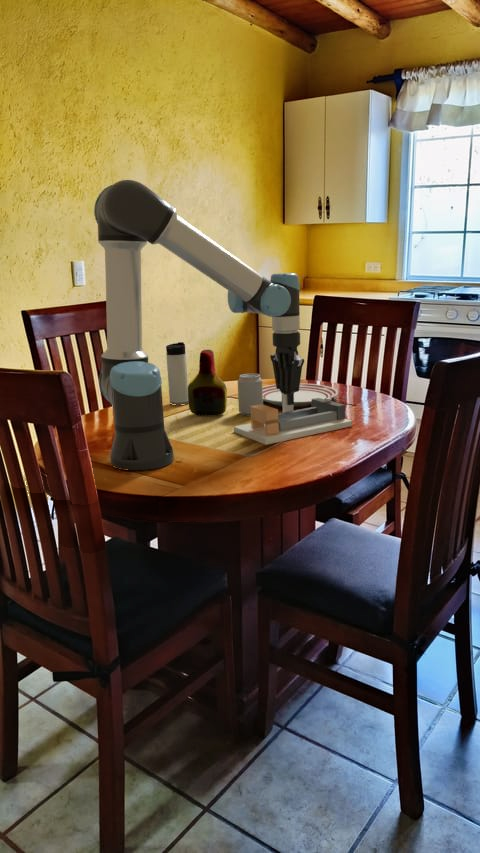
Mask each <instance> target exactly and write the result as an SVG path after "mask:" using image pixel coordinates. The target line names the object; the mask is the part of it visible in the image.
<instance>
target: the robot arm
mask: <svg viewBox="0 0 480 853" xmlns="http://www.w3.org/2000/svg"><path fill="white" fill-rule="evenodd" d="M176 210H177V209H176V207H174V206H173V205H172V204H170V203H169V202H168V201H167V200H165V199H164V198H162V197H161V196H160V195H159V194H158V193H155V191H153V190H152V189H150V188H149V187H147V186H146V185H145V184H143V183H141V182H139V181H137V180H132V179H122V180H119V181H115V183H113V184H110V185H109V186H107V187H106V188H103V190H102V191H101V192H100V193H99V194H98V196H97V197H96V200H95V203H94V211H93V212H94V213H93V214H94V217H95V218H94V219H95V220H96V224H97V238H98V239H97V242H98V244H99V245H100V246H101V247H102V248H103V249H104V261H105V263H104V264H105V265H104V268H105V269H104V270H105V272H104V273H105V301H106V302H105V303H106V307H105V308H106V309H105V310H106V340H107V341H106V343H107V344H106V345H107V346H106V347H107V348H106V349H105V351H104V352H102V353H101V356H100V357H101V371H100V374H99V378H98V379H99V380H98V384H99V389H100V392H101V394H102V396H103V397H104V399H105V400H106V401H107V402H109V403H110V405H112V409H113V410H112V411H113V421H114V438H113V443H112V446H111V451H110V454H109V455H110V456H109V458H110V465H111V464H112V465H113V466H115V467H117V468H121V469H128V470H143V471H150V470H149V469H151V470H155V468H156V469H159V468H163V467H166V466H168V465H170V464H171V463H173V462H174V461H175V457H174V456H175V455H174V449H173V446H172V443H171V442H170V438H169V436H168V434H167V431H166V430H165V428H166V427H165V421H164V419H165V418H164V405H163V404H164V403H163V402H164V401H163V393H162V392H163V391H162V389H163V388H162V384H163V381H162V376H161V372H160V369H159V367H158V366H157V365H156V364H154V363H151V362H149V354H148V353H147V352H146V351H145V350H144V349H143V330H142V328H143V325H142V322H143V320H142V313H143V312H142V257H141V251H142V249H143V248H144V247H145V246H146V245H147V244H148V243H149V244H151V245H157V244H159V245H160V246H162V247H163V248H164V249H166V250H168V251H169V252H170V253H172V254H174V255H175V256H176V257H177V258H180V259H181V260H182V261H184V262H186V263H187V264H188V265H190V266H191V267H192V268H194V269H196V270H198V271H199V272H200V273H202V274H203V275H204V276H206V277H208V278H209V279H211V280H212V281H214V282H215V283H217V284H218V285H219V286H221V287H223V288H224V289H226V290H227V304H228V307H229V310H230V311H231V313H234V314H240V313H241V314H244V313H252V314H257V315H262V316H267V317H270V318H271V330H272V331H273V333H272V346H273V347H275V352H274V353H273V354H270V357H269V358H270V362H271V364H272V368H273V369H272V370H273V374H274V381H275V384H276V388H277V389H279V390H280V392H281V393H282V406H281V407H282V413H284V412H289V411H294V407H293V405H294V393H295V392H298V391H299V386H300V383H301V378H302V370H303V366H304V363H305V359H304V358H300V356H299V351H298V347H299V346H301V332H300V331H299V330H301V329H300V328H301V326H300V324H301V322H300V311H301V310H300V291H301V290H300V279H299V275H298V274H297V273H294V272H283V273H281V272H279V273H272V274H271V276H270V280H269V279H268V278H267V277H265V276H263V275H262V274H260V273H259V272H258V271H256V270H255V269H254V268H253V267H251V266H249V265H248V264H246V263H245V262H243V261H242V260H241V259H239V258H238V256H235V255H234V254H232V253H231V252H230V251H228V250H227V249H225V248H224V247H223V246H221V245H220V244H218V243H217V242H216V241H215V240H213V239H211V238H210V237H208V236H207V235H206V234H204V233H203V232H201V231H200V230H199V229H197V228H196V227H195V226H193V225H192V224H190V223H189V222H188V221H186V220H185V219H183V218H182V217H181V216H179V215H178V214H177V211H176Z"/></svg>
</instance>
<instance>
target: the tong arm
mask: <svg viewBox="0 0 480 853" xmlns="http://www.w3.org/2000/svg"><path fill="white" fill-rule="evenodd" d="M293 410H294V409H293ZM313 414H318V408H317V407H312V406H310V407H305V408H302V409H301V408H300V409H296V410H294V411H289V412H284V413H283V412H280V413H279V412H278V421H283V420H288V419H293V418H298V417H303V416H308V415H313Z"/></svg>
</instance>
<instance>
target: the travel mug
mask: <svg viewBox="0 0 480 853" xmlns="http://www.w3.org/2000/svg"><path fill="white" fill-rule="evenodd" d="M165 350H166V355H165V356H166V367H167V380H168V381H167V384H168V396H169V398H168V399H169V404H170V403H172V404H176V405H181V404H187V403H188V404H189V402H188V385H189V382H188V371H187V368H188V367H187V356H186V354H187V353H186V344H185V342H181V341H179V342H177V343H176V342H175V343H171V344H170V343H169V344H168V345H166V346H165ZM188 404H187V405H188Z"/></svg>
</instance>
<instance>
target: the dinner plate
mask: <svg viewBox="0 0 480 853" xmlns="http://www.w3.org/2000/svg"><path fill="white" fill-rule="evenodd" d="M262 388H263V402H267V403H268V404H272V405H275V406H279V407H282V393H281V392H280V390H279V389H277V388H276V383H275V384H270V385H269V384H267V385H266V386H262ZM338 393H339V391H338V390H337V389H336V388H334V387H331V386H328V385H322V384H316V383H304V382H303V383H301V382H300V386H299V391H298V392H295V393H294V405H293V408H294V407H306V406H307V407H308V406H312V399H315V398H321V399H324V398H331V399H333V398H335V397H337V396H338Z"/></svg>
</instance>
